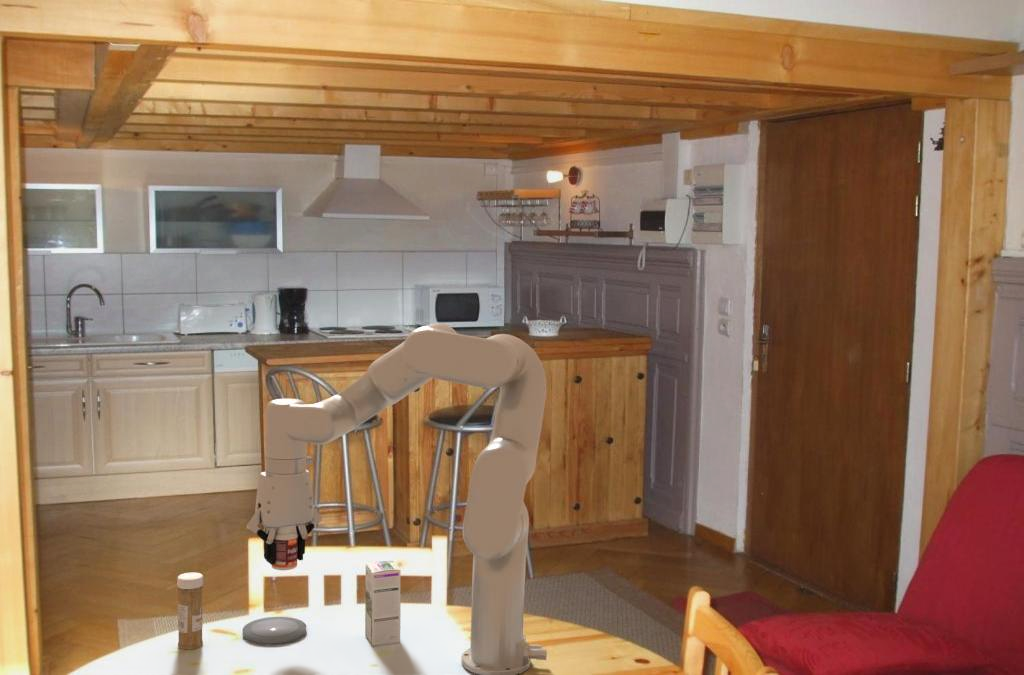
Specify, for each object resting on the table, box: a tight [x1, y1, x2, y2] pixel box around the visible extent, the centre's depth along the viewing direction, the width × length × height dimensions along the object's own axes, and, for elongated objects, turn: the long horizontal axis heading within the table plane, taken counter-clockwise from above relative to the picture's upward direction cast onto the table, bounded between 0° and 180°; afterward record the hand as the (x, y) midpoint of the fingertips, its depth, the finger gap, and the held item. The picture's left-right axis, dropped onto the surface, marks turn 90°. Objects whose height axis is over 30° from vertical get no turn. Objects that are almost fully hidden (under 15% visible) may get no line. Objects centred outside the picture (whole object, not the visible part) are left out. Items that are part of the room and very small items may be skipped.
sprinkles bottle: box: [176, 571, 204, 651], centre depth 191 cm, size 5×5×13 cm
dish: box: [242, 616, 307, 646], centre depth 199 cm, size 12×12×1 cm
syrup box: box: [364, 560, 401, 647], centre depth 197 cm, size 6×6×14 cm
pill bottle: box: [271, 525, 298, 571], centre depth 194 cm, size 5×5×8 cm
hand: (284, 559), depth 194 cm, fingers closed on pill bottle, 4 cm apart
